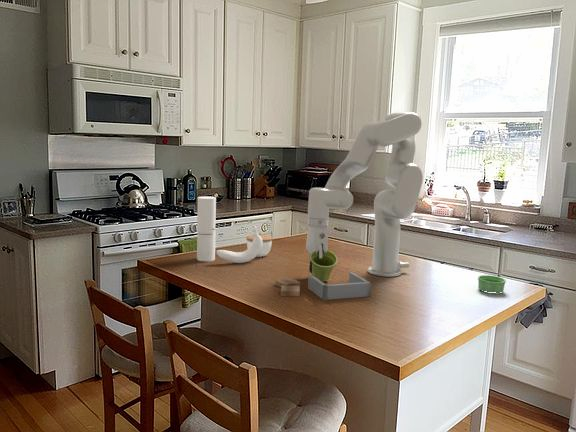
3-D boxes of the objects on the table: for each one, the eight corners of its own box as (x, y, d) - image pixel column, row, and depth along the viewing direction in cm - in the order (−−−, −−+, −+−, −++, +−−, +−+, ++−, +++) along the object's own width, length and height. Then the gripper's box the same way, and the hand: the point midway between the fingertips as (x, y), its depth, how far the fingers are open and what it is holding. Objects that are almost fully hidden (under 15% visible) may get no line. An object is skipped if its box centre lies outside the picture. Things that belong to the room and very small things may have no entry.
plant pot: (332, 287, 180) (336, 268, 175) (305, 283, 180) (308, 264, 176) (334, 270, 188) (338, 251, 183) (308, 266, 188) (311, 247, 183)
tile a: (289, 283, 180) (289, 277, 180) (300, 287, 176) (300, 282, 175) (275, 286, 177) (275, 280, 177) (285, 290, 172) (286, 284, 172)
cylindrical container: (218, 259, 210) (219, 197, 206) (206, 262, 204) (207, 199, 200) (205, 256, 213) (205, 196, 210) (193, 259, 207) (193, 197, 204)
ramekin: (487, 295, 174) (488, 282, 173) (471, 287, 182) (472, 275, 182) (510, 294, 176) (511, 281, 175) (493, 286, 185) (494, 274, 184)
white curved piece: (215, 263, 202) (215, 226, 200) (258, 259, 212) (259, 223, 210) (220, 266, 198) (220, 228, 196) (264, 261, 208) (265, 225, 206)
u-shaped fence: (351, 284, 180) (352, 272, 179) (370, 296, 168) (371, 282, 167) (308, 287, 174) (308, 274, 174) (323, 300, 162) (324, 286, 161)
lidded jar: (240, 255, 218) (241, 233, 216) (256, 251, 226) (257, 230, 225) (261, 259, 212) (261, 236, 210) (276, 255, 220) (277, 233, 219)
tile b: (299, 292, 171) (299, 286, 171) (299, 297, 165) (299, 291, 165) (281, 291, 171) (281, 285, 171) (280, 296, 165) (280, 290, 165)
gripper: (335, 226, 179) (331, 277, 182) (319, 219, 193) (316, 267, 196) (315, 226, 177) (311, 278, 180) (300, 218, 191) (297, 267, 194)
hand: (314, 272), depth 188 cm, fingers closed
